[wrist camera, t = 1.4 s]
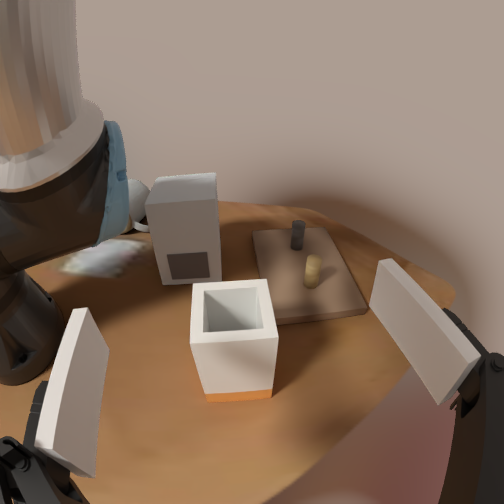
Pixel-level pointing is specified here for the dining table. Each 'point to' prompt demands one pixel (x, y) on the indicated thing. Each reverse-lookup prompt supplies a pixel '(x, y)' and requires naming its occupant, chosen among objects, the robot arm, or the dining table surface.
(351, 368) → the dining table surface
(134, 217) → the ceramic mug
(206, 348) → the sleeve
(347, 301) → the pin board
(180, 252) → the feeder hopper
